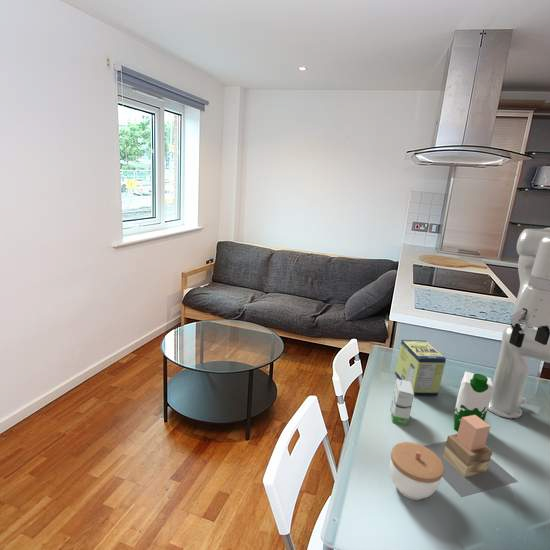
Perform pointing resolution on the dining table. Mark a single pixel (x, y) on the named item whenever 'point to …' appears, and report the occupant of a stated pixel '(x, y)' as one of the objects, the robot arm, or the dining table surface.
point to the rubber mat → (472, 483)
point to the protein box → (420, 367)
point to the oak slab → (461, 466)
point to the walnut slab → (468, 452)
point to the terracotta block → (473, 432)
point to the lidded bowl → (415, 470)
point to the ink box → (401, 402)
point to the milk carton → (472, 397)
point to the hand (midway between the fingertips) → (527, 343)
